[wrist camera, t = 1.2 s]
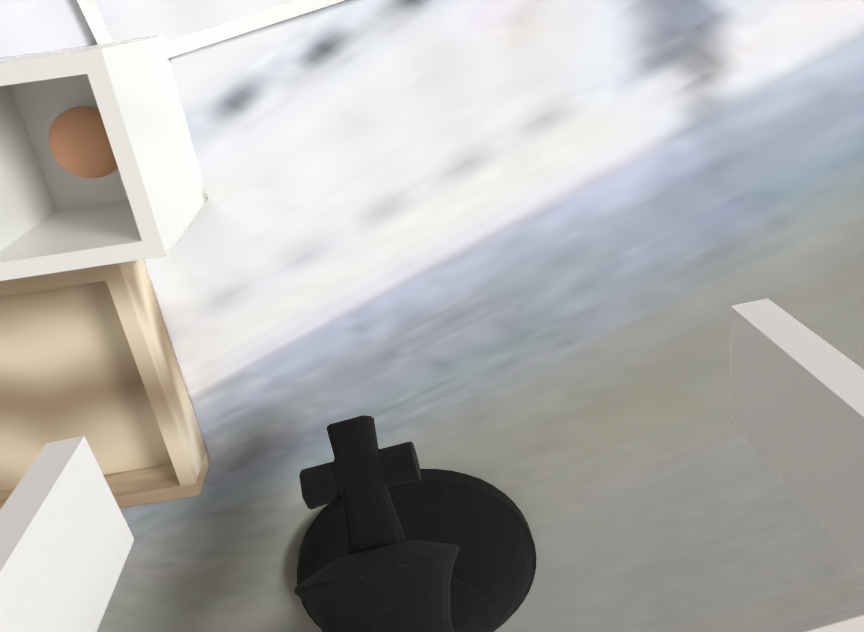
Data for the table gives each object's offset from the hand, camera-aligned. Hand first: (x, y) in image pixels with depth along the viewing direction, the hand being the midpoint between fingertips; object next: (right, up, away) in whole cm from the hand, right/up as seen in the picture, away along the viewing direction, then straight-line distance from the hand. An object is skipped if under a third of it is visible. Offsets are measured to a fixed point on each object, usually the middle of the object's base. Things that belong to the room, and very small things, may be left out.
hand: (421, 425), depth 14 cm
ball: (-15, +10, +17) cm, 25 cm away
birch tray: (-22, -1, +22) cm, 32 cm away
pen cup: (-15, +11, +17) cm, 25 cm away
